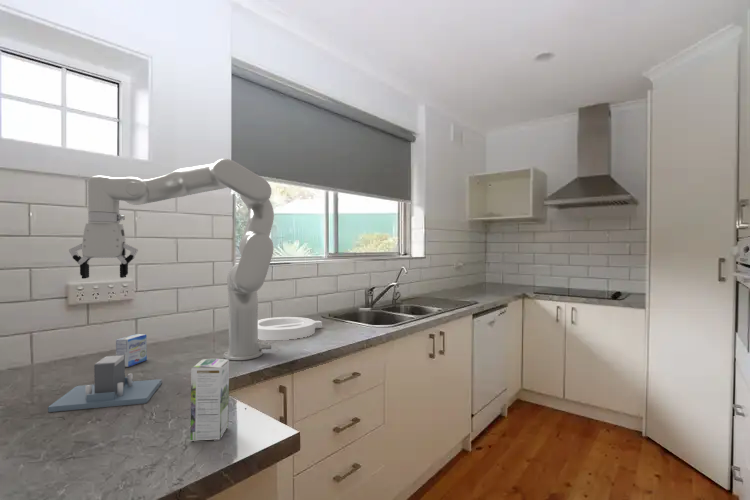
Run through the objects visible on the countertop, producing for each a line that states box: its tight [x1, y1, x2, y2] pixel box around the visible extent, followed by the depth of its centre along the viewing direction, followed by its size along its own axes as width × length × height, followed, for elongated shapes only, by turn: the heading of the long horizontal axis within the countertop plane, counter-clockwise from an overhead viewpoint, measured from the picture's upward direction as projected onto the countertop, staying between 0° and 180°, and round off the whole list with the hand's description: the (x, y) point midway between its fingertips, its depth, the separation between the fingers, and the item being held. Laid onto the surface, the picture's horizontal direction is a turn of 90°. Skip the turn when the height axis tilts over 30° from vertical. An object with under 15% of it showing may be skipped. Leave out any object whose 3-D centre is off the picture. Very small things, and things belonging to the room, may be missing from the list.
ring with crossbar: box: [258, 316, 323, 341], centre depth 172 cm, size 28×28×5 cm
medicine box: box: [115, 333, 148, 368], centre depth 127 cm, size 8×4×9 cm, turn 168°
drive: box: [93, 354, 126, 395], centre depth 100 cm, size 4×8×8 cm, turn 15°
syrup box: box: [189, 358, 230, 440], centre depth 79 cm, size 6×6×14 cm
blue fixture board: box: [47, 372, 163, 413], centre depth 99 cm, size 20×14×4 cm
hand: (104, 277), depth 116 cm, fingers open, 9 cm apart
